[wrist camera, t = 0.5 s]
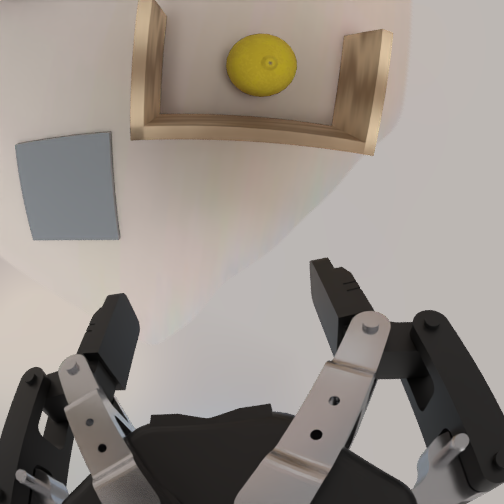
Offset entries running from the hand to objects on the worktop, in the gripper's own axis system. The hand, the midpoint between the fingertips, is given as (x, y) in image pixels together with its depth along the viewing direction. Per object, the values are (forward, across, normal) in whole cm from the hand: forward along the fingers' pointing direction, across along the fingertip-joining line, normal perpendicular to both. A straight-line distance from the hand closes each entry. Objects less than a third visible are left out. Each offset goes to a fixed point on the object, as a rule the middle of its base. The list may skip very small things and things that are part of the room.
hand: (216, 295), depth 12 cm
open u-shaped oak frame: (+19, -5, -10) cm, 22 cm away
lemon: (+19, -5, -10) cm, 22 cm away
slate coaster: (+19, +17, -3) cm, 26 cm away
